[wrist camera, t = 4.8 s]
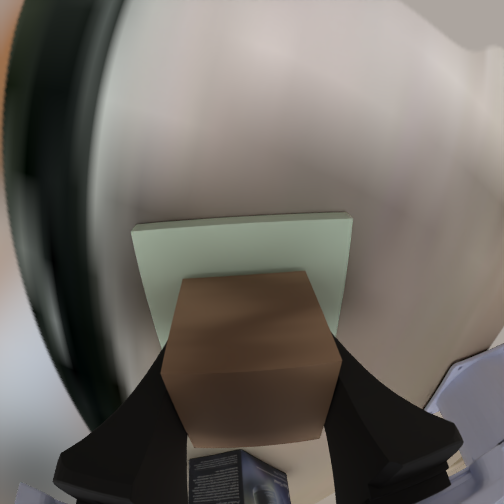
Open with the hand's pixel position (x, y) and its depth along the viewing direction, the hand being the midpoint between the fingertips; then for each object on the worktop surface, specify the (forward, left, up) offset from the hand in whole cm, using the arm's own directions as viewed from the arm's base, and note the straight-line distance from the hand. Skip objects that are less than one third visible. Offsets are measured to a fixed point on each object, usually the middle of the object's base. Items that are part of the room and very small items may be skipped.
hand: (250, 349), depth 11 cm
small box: (+2, +22, -3) cm, 23 cm away
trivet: (0, 0, -3) cm, 3 cm away
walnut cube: (0, 0, -2) cm, 2 cm away
